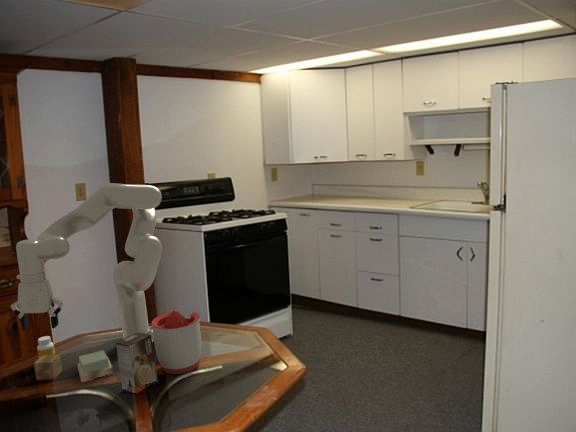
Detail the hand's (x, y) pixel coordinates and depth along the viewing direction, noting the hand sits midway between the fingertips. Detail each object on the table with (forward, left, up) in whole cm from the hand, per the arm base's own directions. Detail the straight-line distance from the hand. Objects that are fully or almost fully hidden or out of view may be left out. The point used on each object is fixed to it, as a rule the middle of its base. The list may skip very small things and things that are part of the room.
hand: (40, 327), depth 179 cm
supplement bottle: (0, -10, -17) cm, 20 cm away
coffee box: (-25, +26, -17) cm, 40 cm away
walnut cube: (0, 0, -17) cm, 17 cm away
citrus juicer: (-41, +19, -17) cm, 48 cm away
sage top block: (-14, +7, -15) cm, 22 cm away
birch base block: (-14, +7, -18) cm, 24 cm away
